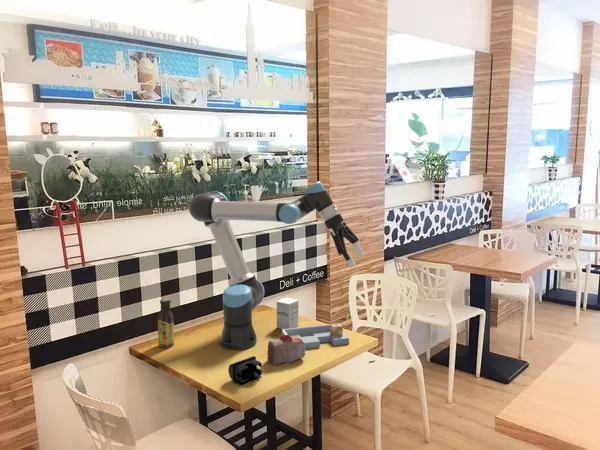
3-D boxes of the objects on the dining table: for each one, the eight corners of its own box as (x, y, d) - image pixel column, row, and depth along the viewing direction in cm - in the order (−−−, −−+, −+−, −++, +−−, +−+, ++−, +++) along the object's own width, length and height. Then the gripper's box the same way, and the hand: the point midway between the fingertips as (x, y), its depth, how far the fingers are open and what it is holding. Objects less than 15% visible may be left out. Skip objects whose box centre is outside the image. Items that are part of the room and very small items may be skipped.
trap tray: (340, 334, 219) (340, 323, 218) (348, 343, 208) (349, 332, 207) (281, 340, 212) (281, 329, 211) (287, 350, 202) (287, 338, 201)
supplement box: (276, 328, 227) (275, 301, 224) (285, 323, 233) (285, 296, 231) (289, 331, 222) (289, 304, 220) (299, 326, 228) (298, 299, 226)
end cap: (251, 371, 184) (250, 353, 183) (263, 377, 179) (262, 359, 178) (228, 379, 177) (227, 361, 176) (240, 386, 172) (239, 368, 171)
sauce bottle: (155, 345, 207) (153, 299, 204) (168, 341, 212) (166, 296, 209) (164, 350, 203) (162, 302, 200) (177, 345, 208) (175, 299, 204)
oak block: (333, 336, 210) (333, 327, 209) (330, 332, 213) (330, 323, 213) (342, 335, 211) (342, 326, 210) (339, 332, 215) (339, 323, 214)
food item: (297, 352, 200) (296, 329, 198) (306, 360, 193) (306, 335, 191) (265, 359, 193) (265, 335, 192) (275, 367, 187) (274, 342, 185)
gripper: (328, 219, 193) (357, 267, 193) (347, 206, 215) (372, 248, 216) (313, 228, 196) (341, 275, 197) (333, 214, 219) (358, 256, 219)
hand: (357, 261), depth 206 cm, fingers open, 13 cm apart
